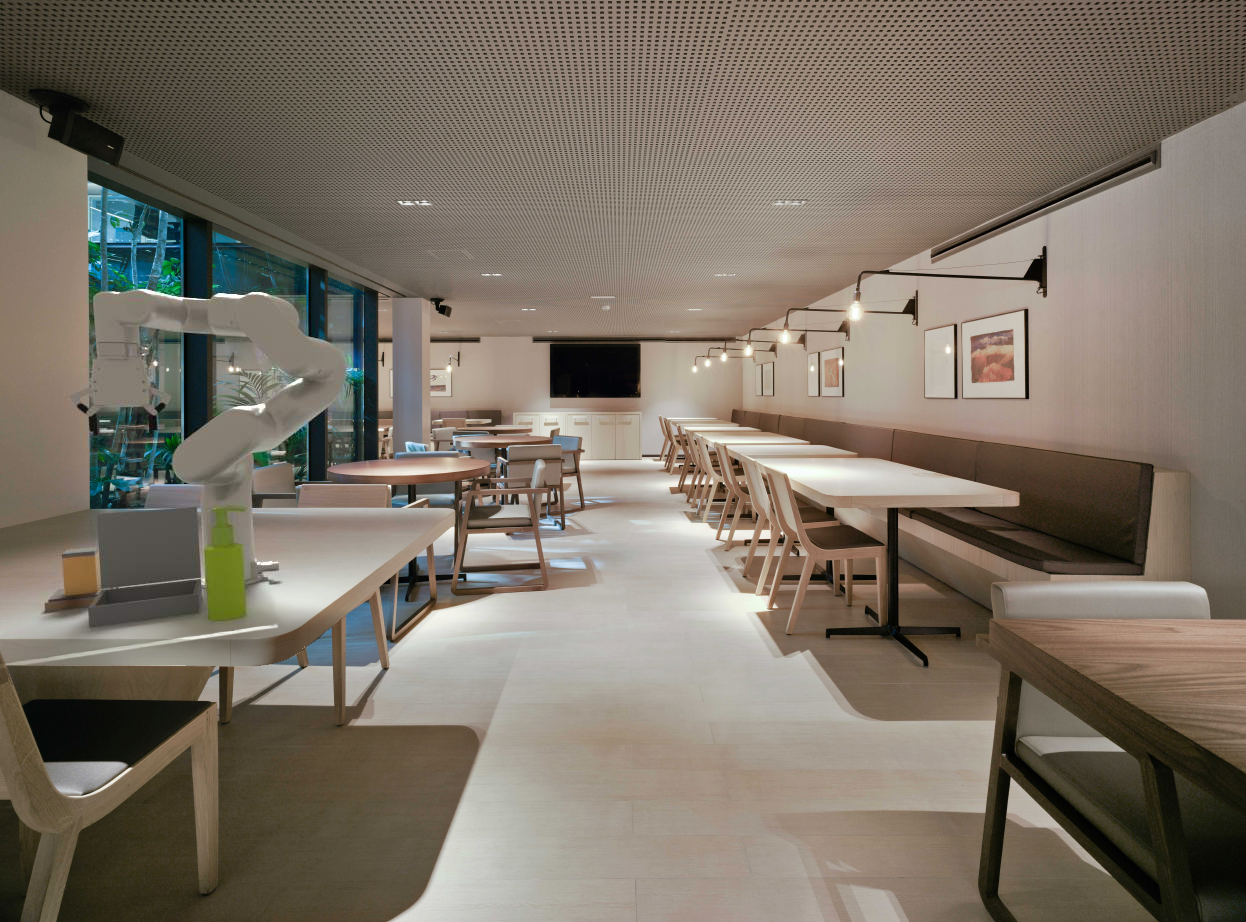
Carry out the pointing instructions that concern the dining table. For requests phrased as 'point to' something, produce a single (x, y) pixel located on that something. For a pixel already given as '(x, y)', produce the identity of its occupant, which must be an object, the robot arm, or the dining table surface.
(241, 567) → the soap dispenser
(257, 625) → the dining table surface
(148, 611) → the case
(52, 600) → the pad
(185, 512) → the lid
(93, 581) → the block
